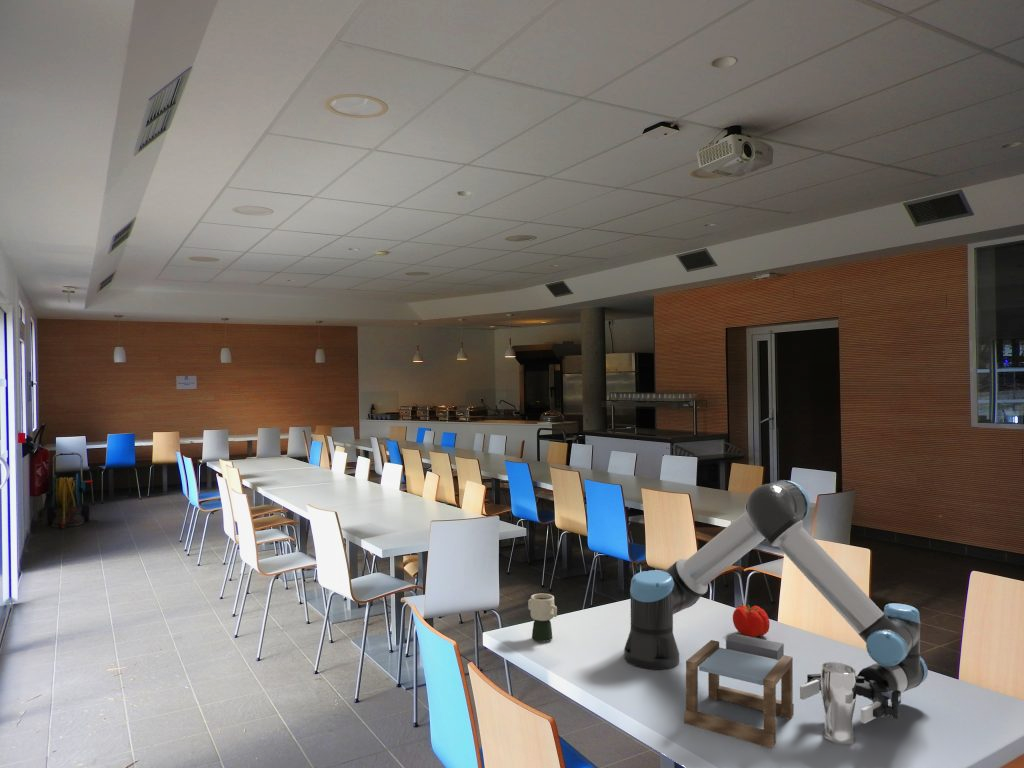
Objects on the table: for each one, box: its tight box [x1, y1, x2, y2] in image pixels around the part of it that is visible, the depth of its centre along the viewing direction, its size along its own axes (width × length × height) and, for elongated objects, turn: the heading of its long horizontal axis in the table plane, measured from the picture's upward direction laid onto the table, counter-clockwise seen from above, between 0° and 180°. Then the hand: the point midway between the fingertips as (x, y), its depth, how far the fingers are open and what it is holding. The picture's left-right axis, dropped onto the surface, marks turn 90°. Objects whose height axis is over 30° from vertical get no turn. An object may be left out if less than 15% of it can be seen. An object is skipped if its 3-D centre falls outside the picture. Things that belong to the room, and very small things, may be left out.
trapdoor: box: [698, 633, 785, 686], centre depth 160 cm, size 14×22×4 cm, turn 145°
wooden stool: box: [683, 639, 795, 749], centre depth 157 cm, size 19×19×14 cm
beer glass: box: [820, 661, 857, 746], centre depth 148 cm, size 7×7×15 cm
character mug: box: [527, 593, 558, 642], centre depth 207 cm, size 11×7×13 cm, turn 48°
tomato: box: [732, 604, 771, 638], centre depth 213 cm, size 11×11×9 cm
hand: (830, 704), depth 146 cm, fingers open, 13 cm apart
